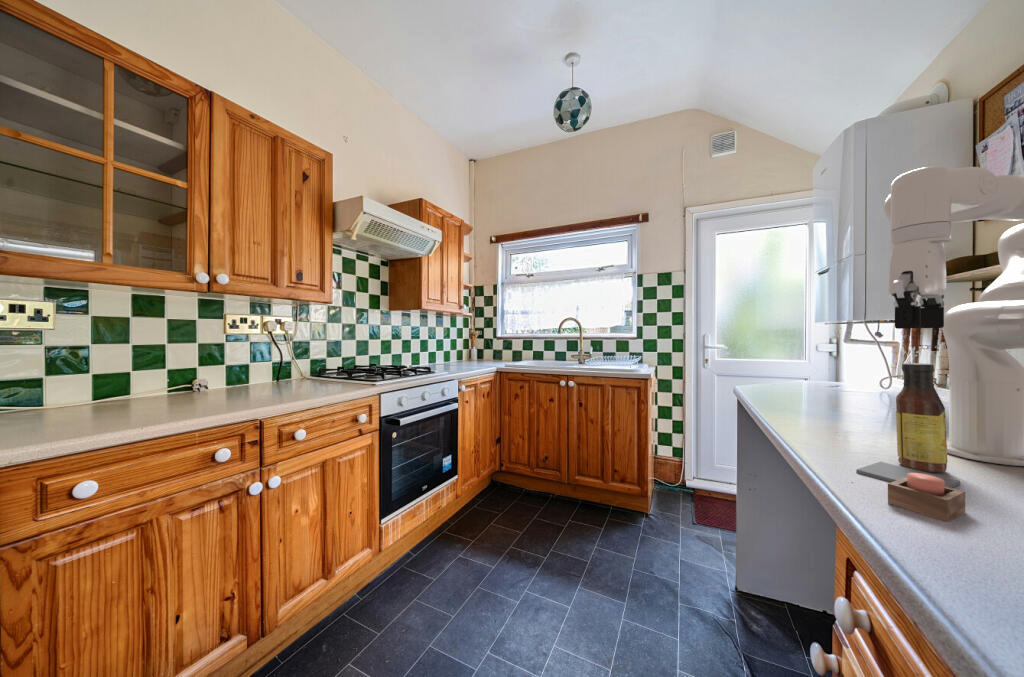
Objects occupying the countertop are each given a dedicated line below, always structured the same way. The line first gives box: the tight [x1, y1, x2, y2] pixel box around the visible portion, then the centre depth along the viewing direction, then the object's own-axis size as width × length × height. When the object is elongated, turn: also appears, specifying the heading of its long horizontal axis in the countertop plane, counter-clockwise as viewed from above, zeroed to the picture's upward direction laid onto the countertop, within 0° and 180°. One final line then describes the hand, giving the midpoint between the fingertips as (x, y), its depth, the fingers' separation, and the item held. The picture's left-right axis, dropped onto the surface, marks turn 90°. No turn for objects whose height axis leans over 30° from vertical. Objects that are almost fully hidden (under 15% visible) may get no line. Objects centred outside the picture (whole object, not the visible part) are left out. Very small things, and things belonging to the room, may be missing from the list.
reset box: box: [887, 477, 966, 523], centre depth 53 cm, size 6×6×3 cm
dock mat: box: [855, 461, 961, 489], centre depth 63 cm, size 9×10×1 cm
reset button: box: [907, 473, 944, 497], centre depth 53 cm, size 4×4×2 cm
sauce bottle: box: [895, 362, 948, 474], centre depth 67 cm, size 6×6×20 cm
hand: (919, 328), depth 67 cm, fingers open, 9 cm apart
